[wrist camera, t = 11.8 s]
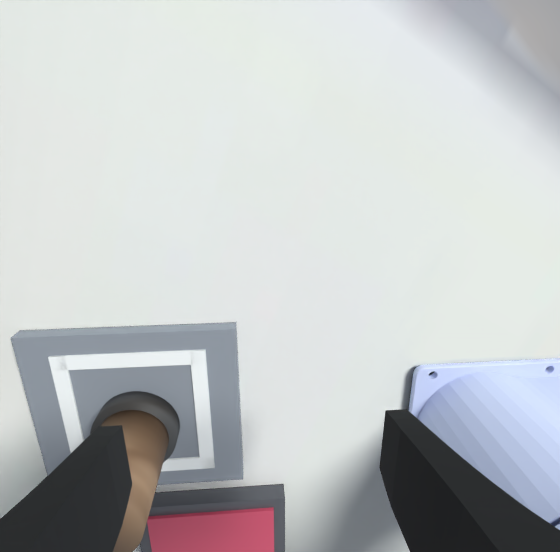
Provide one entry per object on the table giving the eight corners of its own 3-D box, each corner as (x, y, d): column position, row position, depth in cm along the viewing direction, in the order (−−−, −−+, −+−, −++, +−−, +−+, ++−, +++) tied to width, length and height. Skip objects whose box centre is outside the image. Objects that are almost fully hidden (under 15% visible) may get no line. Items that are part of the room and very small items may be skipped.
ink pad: (283, 484, 24) (284, 500, 23) (283, 560, 26) (285, 579, 25) (138, 494, 23) (133, 511, 22) (151, 571, 25) (147, 591, 24)
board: (236, 322, 20) (235, 330, 19) (243, 468, 23) (242, 480, 22) (20, 330, 19) (9, 338, 18) (58, 480, 22) (51, 493, 22)
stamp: (187, 399, 20) (162, 496, 15) (172, 461, 22) (144, 573, 16) (103, 384, 20) (43, 480, 14) (93, 449, 21) (34, 562, 15)
